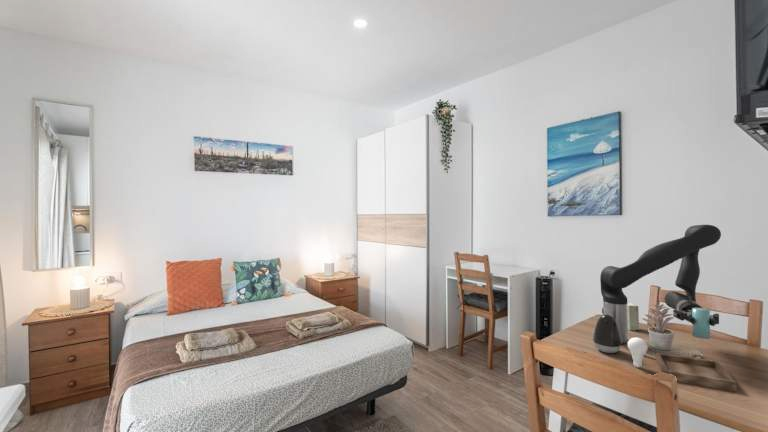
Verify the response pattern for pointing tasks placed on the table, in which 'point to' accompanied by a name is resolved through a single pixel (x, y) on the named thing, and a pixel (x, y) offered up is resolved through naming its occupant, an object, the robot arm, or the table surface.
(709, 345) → the table surface
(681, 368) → the walnut tray
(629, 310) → the skincare box
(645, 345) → the lightbulb
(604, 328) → the black rounded dome
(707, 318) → the teal canister
